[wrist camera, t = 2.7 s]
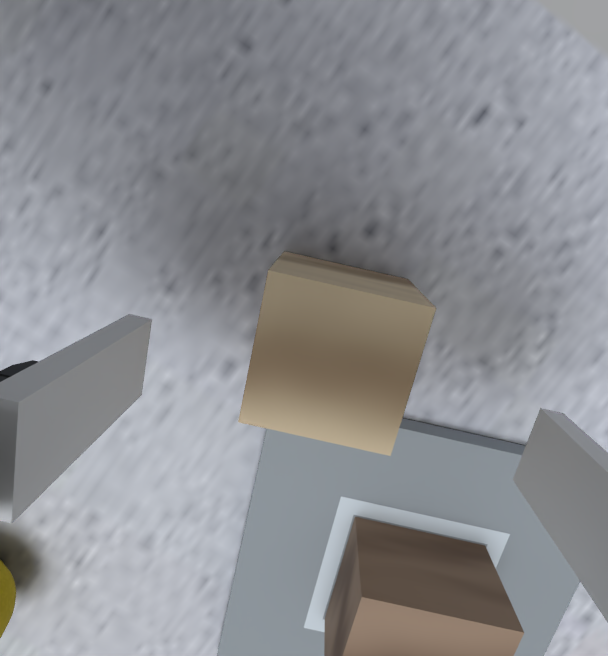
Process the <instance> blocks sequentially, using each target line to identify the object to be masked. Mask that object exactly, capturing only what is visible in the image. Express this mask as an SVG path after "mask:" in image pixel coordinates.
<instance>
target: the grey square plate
mask: <svg viewBox="0 0 608 656" xmlns="http://www.w3.org/2000/svg"><path fill="white" fill-rule="evenodd" d="M525 447H526V446H524V445H520V444H516V443H511V442H507V441H502V440H498V439H493V438H489V437H484V436H480V435H475V434H471V433H467V432H462V431H458V430H453V429H449V428H444V427H440V426H435V425H431V424H427V423H422V422H418V421H413V420H409V419H404V418H402V421H401V424H400V427H399V430H398V434H397V437H396V440H395V443H394V447H393V450H392V453H391V456H388V455H383V454H379V453H374V452H370V451H365V450H361V449H356V448H352V447H347V446H343V445H338V444H334V443H329V442H325V441H320V440H316V439H312V438H307V437H303V436H298V435H294V434H289V433H285V432H280V431H276V430H271V429H266V434H265V438H264V443H263V447H262V452H261V456H260V461H259V466H258V470H257V475H256V479H255V484H254V488H253V493H252V498H251V502H250V507H249V511H248V516H247V520H246V525H245V529H244V534H243V539H242V543H241V548H240V552H239V557H238V561H237V566H236V571H235V575H234V580H233V584H232V589H231V593H230V598H229V602H228V607H227V612H226V616H225V621H224V625H223V630H222V634H221V639H220V644H219V648H218V653H217V656H324V633H325V615H326V612H327V609H328V605H329V602H330V599H331V595H332V592H333V589H334V585H335V582H336V579H337V575H338V572H339V569H340V565H341V562H342V559H343V555H344V552H345V549H346V545H347V542H348V539H349V535H350V532H351V529H352V525H353V522H354V519H355V517H359V518H363V519H368V520H372V521H377V522H381V523H386V524H390V525H395V526H399V527H404V528H408V529H413V530H417V531H422V532H426V533H431V534H435V535H440V536H444V537H449V538H453V539H458V540H462V541H467V542H471V543H476V544H480V545H485V546H486V549H487V551H488V553H489V555H490V557H491V560H492V562H493V564H494V566H495V569H496V571H497V573H498V575H499V577H500V580H501V582H502V584H503V586H504V589H505V591H506V593H507V595H508V597H509V600H510V602H511V604H512V606H513V609H514V611H515V613H516V615H517V617H518V620H519V622H520V624H521V626H522V629H523V631H524V635H523V637H522V639H521V641H520V643H519V645H518V648H517V650H516V652H515V654H514V656H544V654H545V652H546V650H547V648H548V646H549V644H550V642H551V640H552V638H553V636H554V634H555V632H556V630H557V628H558V626H559V624H560V621H561V619H562V617H563V615H564V613H565V611H566V609H567V607H568V605H569V603H570V601H571V599H572V597H573V595H574V593H575V591H576V589H577V587H578V585H579V583H580V580H579V579H578V577H577V576H576V574H575V573H574V571H573V570H572V568H571V567H570V565H569V564H568V562H567V561H566V559H565V558H564V556H563V555H562V553H561V552H560V550H559V549H558V547H557V546H556V544H555V543H554V541H553V540H552V538H551V537H550V535H549V534H548V532H547V531H546V529H545V528H544V526H543V525H542V523H541V522H540V520H539V519H538V517H537V516H536V514H535V513H534V511H533V510H532V508H531V507H530V505H529V504H528V502H527V501H526V499H525V498H524V496H523V495H522V493H521V492H520V490H519V489H518V487H517V486H516V484H515V483H514V481H513V477H514V475H515V472H516V470H517V467H518V465H519V462H520V459H521V457H522V454H523V452H524V449H525Z"/></svg>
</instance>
